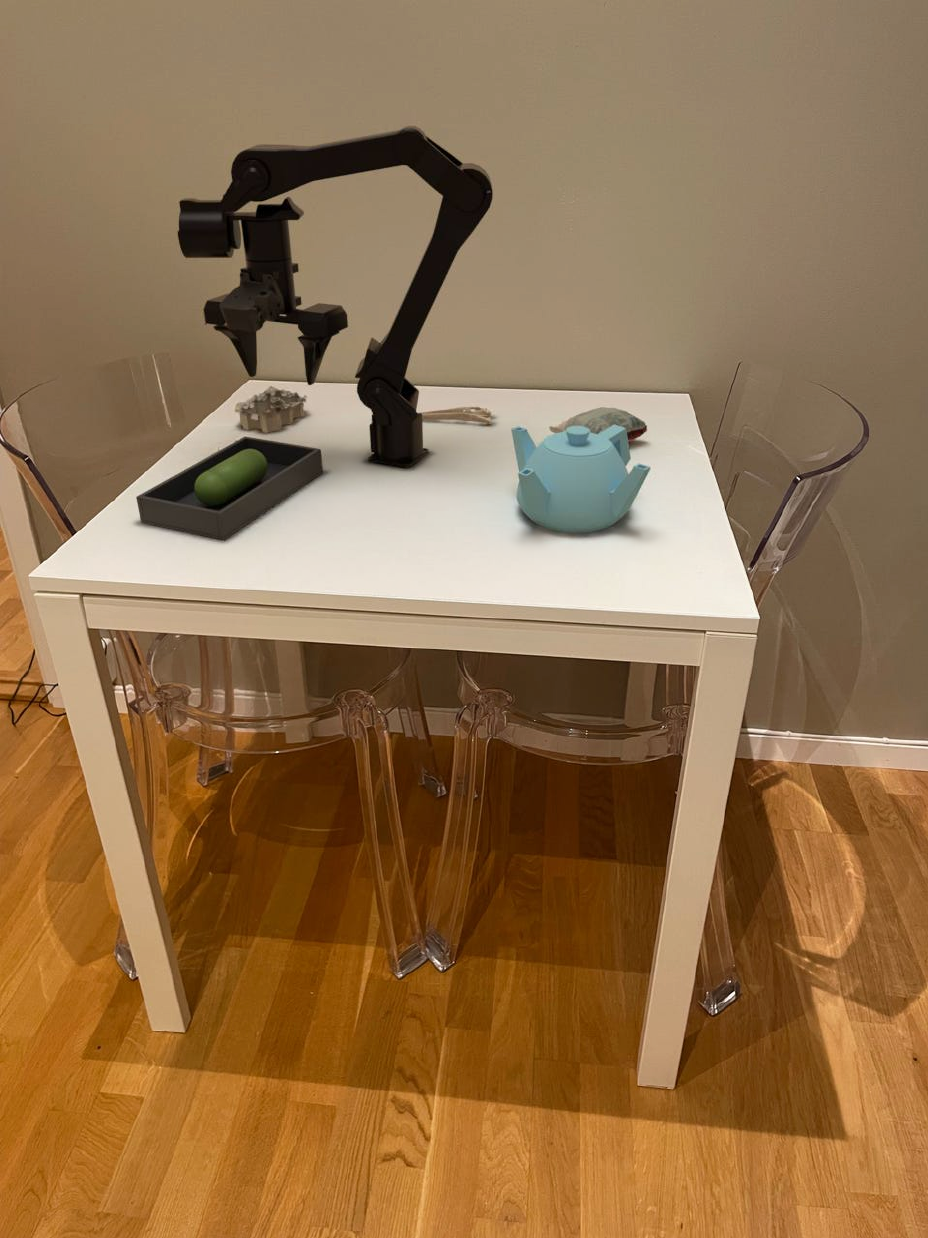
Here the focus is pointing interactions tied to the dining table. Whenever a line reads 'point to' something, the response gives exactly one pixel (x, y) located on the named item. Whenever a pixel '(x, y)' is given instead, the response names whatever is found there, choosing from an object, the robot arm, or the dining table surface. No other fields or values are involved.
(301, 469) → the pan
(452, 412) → the animal skull
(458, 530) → the dining table surface
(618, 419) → the packaged food
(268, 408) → the egg carton
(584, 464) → the teapot
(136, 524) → the dining table surface
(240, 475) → the squash
